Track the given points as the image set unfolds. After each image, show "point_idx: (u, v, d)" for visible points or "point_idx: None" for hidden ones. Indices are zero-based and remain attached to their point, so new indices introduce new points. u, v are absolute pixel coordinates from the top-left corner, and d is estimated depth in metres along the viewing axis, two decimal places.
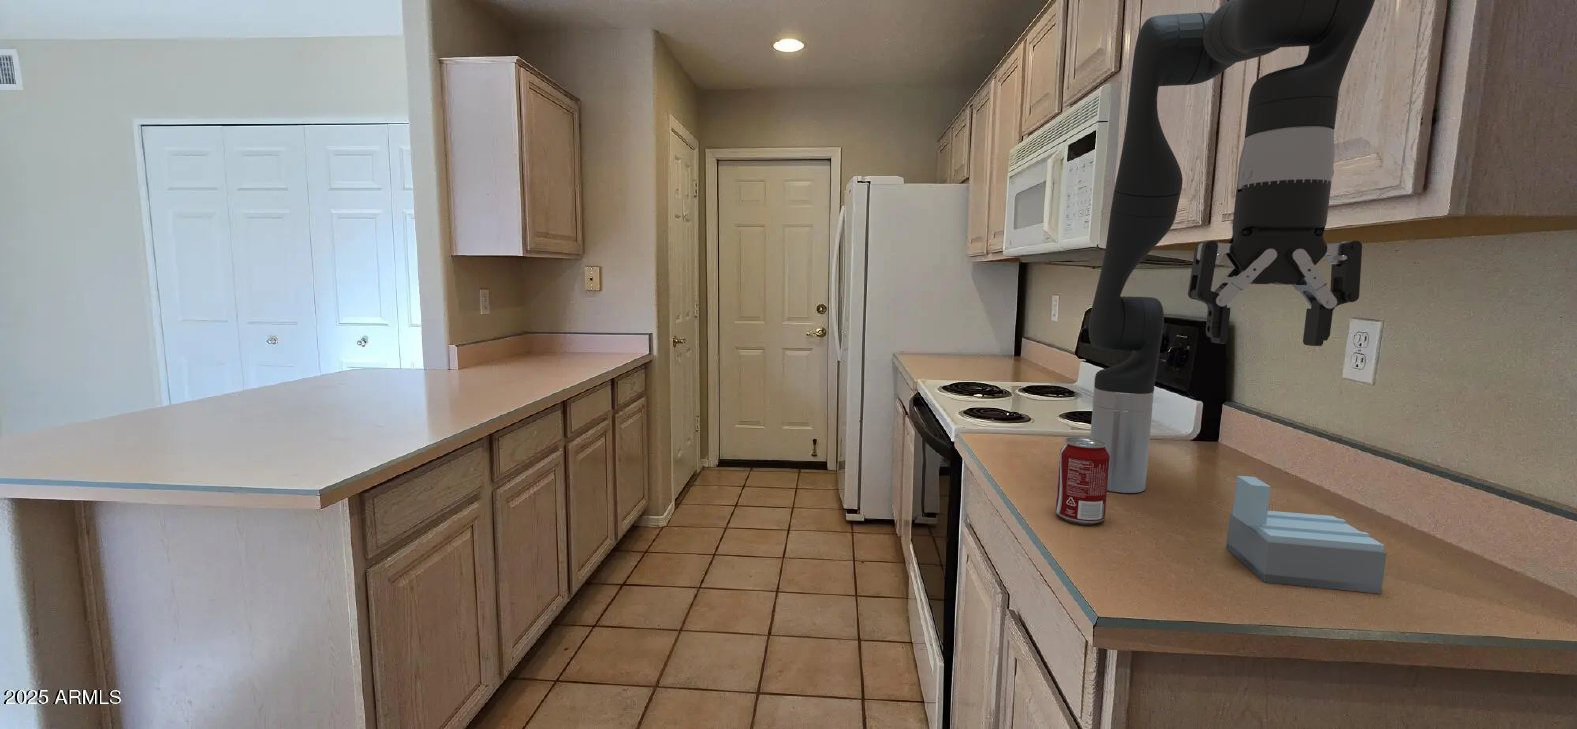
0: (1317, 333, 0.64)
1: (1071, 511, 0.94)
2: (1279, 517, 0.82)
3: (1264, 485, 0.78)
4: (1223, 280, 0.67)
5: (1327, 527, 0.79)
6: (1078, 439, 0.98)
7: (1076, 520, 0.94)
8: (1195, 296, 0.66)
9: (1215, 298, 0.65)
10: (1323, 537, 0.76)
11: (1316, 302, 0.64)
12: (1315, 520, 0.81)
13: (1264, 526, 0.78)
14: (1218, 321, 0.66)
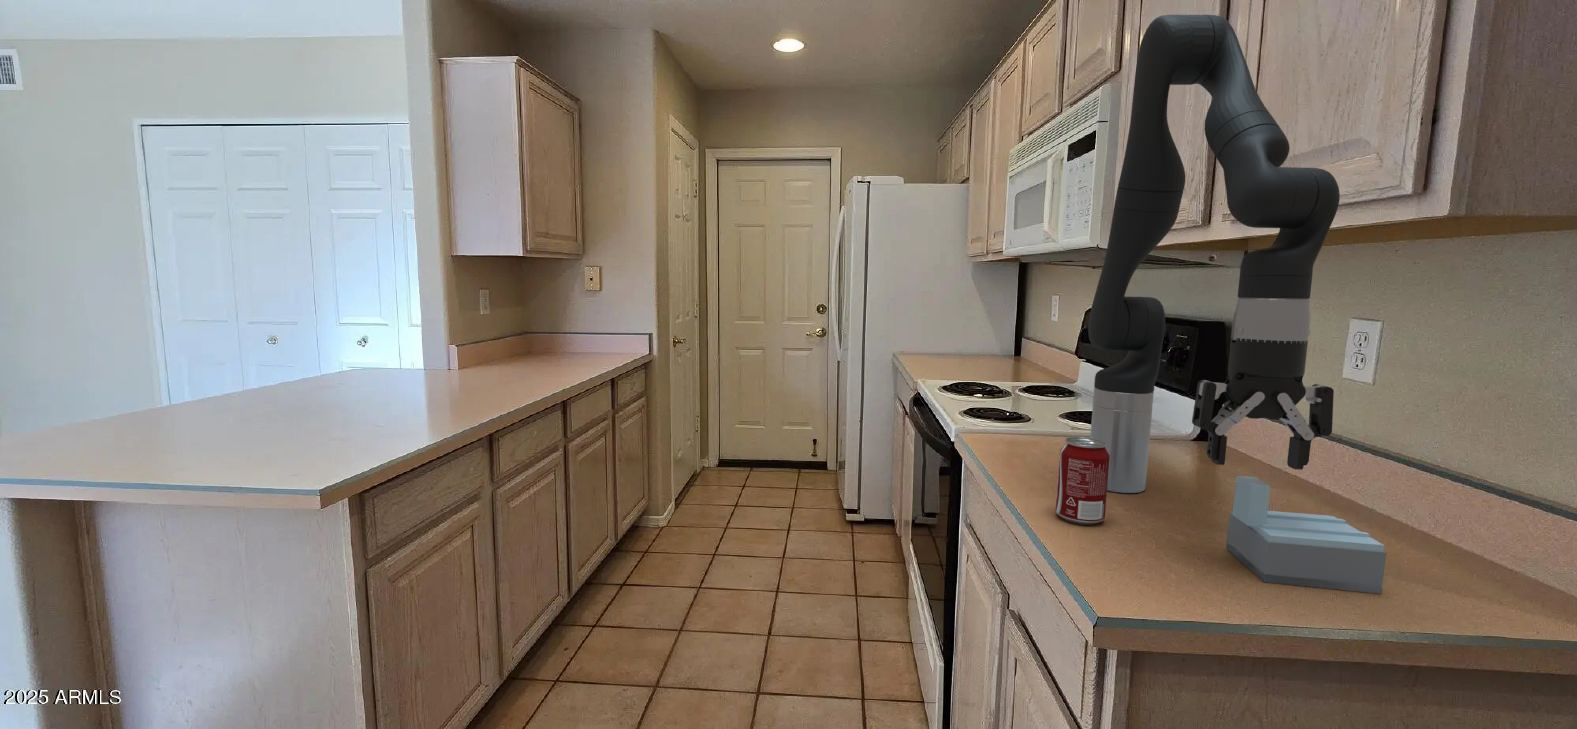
0: (1298, 459, 0.78)
1: (1071, 511, 0.94)
2: (1279, 517, 0.82)
3: (1264, 485, 0.78)
4: (1221, 411, 0.81)
5: (1327, 527, 0.79)
6: (1078, 439, 0.98)
7: (1076, 520, 0.94)
8: (1198, 425, 0.80)
9: (1214, 428, 0.79)
10: (1323, 537, 0.76)
11: (1297, 433, 0.78)
12: (1315, 520, 0.81)
13: (1264, 526, 0.78)
14: (1217, 446, 0.80)
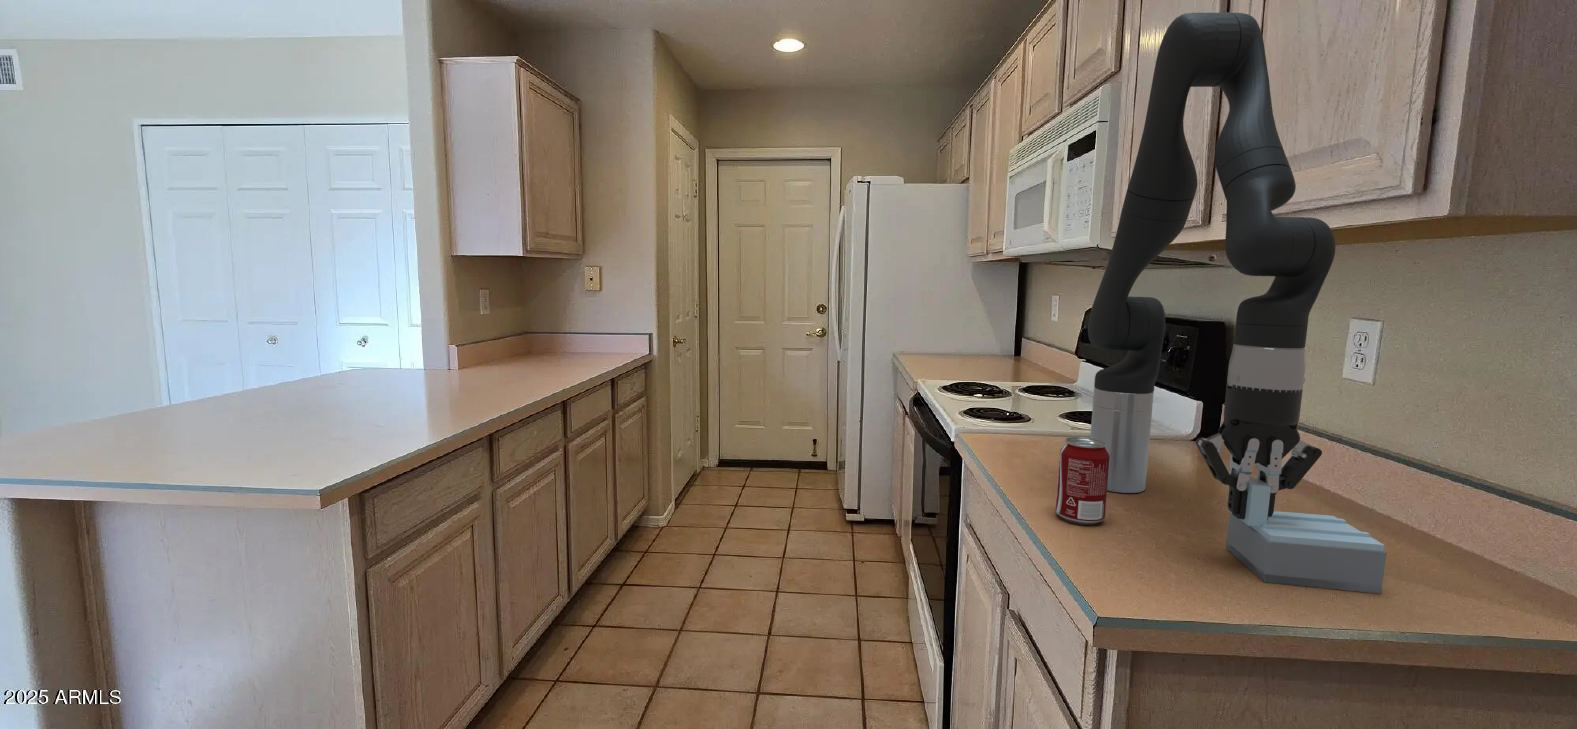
0: None
1: (1071, 511, 0.94)
2: (1279, 517, 0.82)
3: (1264, 485, 0.78)
4: (1231, 464, 0.81)
5: (1327, 527, 0.79)
6: (1078, 439, 0.98)
7: (1076, 520, 0.94)
8: (1219, 480, 0.80)
9: (1236, 483, 0.80)
10: (1323, 537, 0.76)
11: None
12: (1315, 520, 0.81)
13: (1264, 526, 0.78)
14: (1238, 501, 0.80)
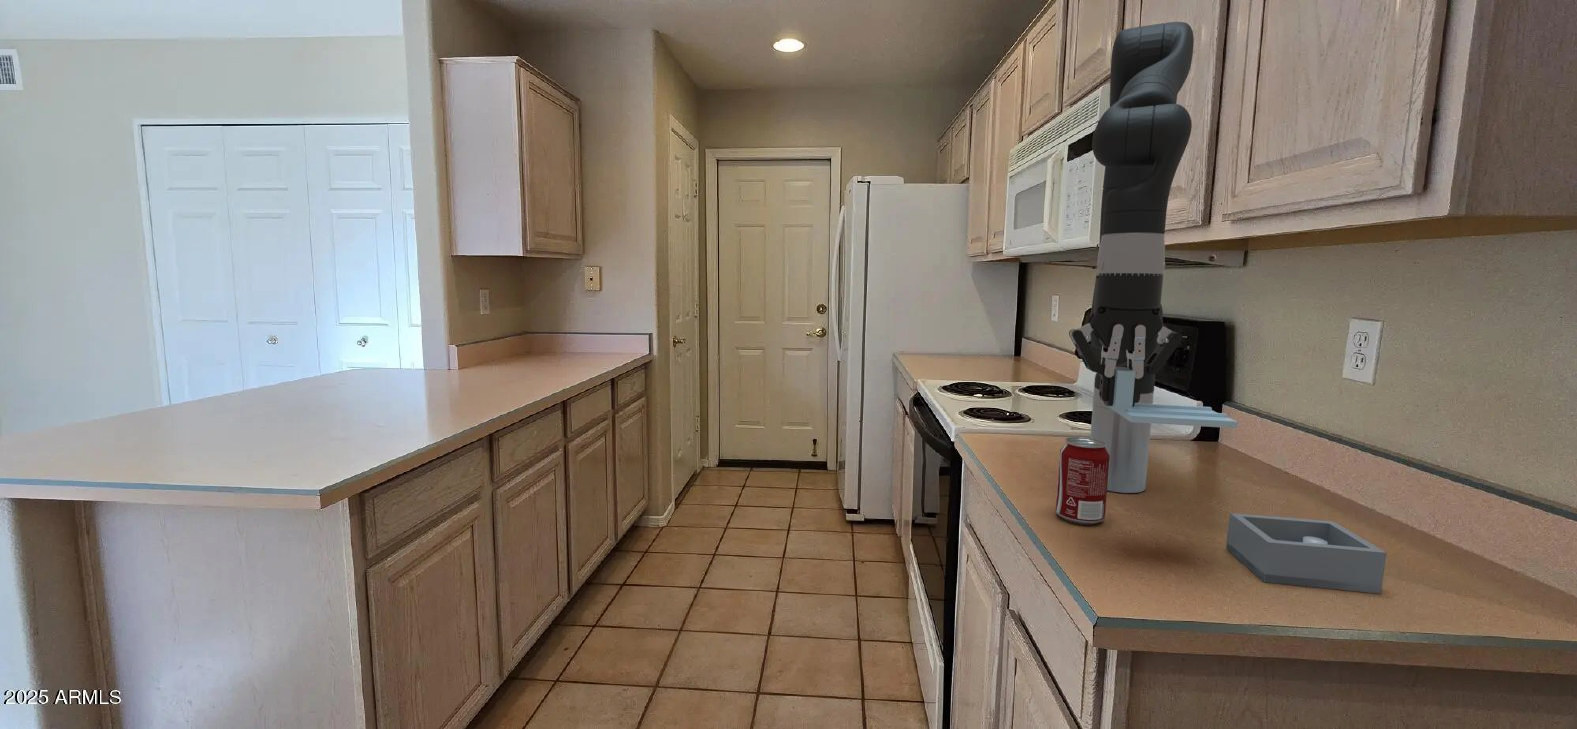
0: None
1: (1071, 511, 0.94)
2: (1149, 406, 0.84)
3: (1130, 370, 0.81)
4: (1102, 354, 0.84)
5: None
6: (1078, 439, 0.98)
7: (1076, 520, 0.94)
8: (1089, 368, 0.83)
9: (1104, 370, 0.82)
10: (1182, 417, 0.78)
11: None
12: (1183, 408, 0.83)
13: (1129, 410, 0.81)
14: (1107, 388, 0.83)
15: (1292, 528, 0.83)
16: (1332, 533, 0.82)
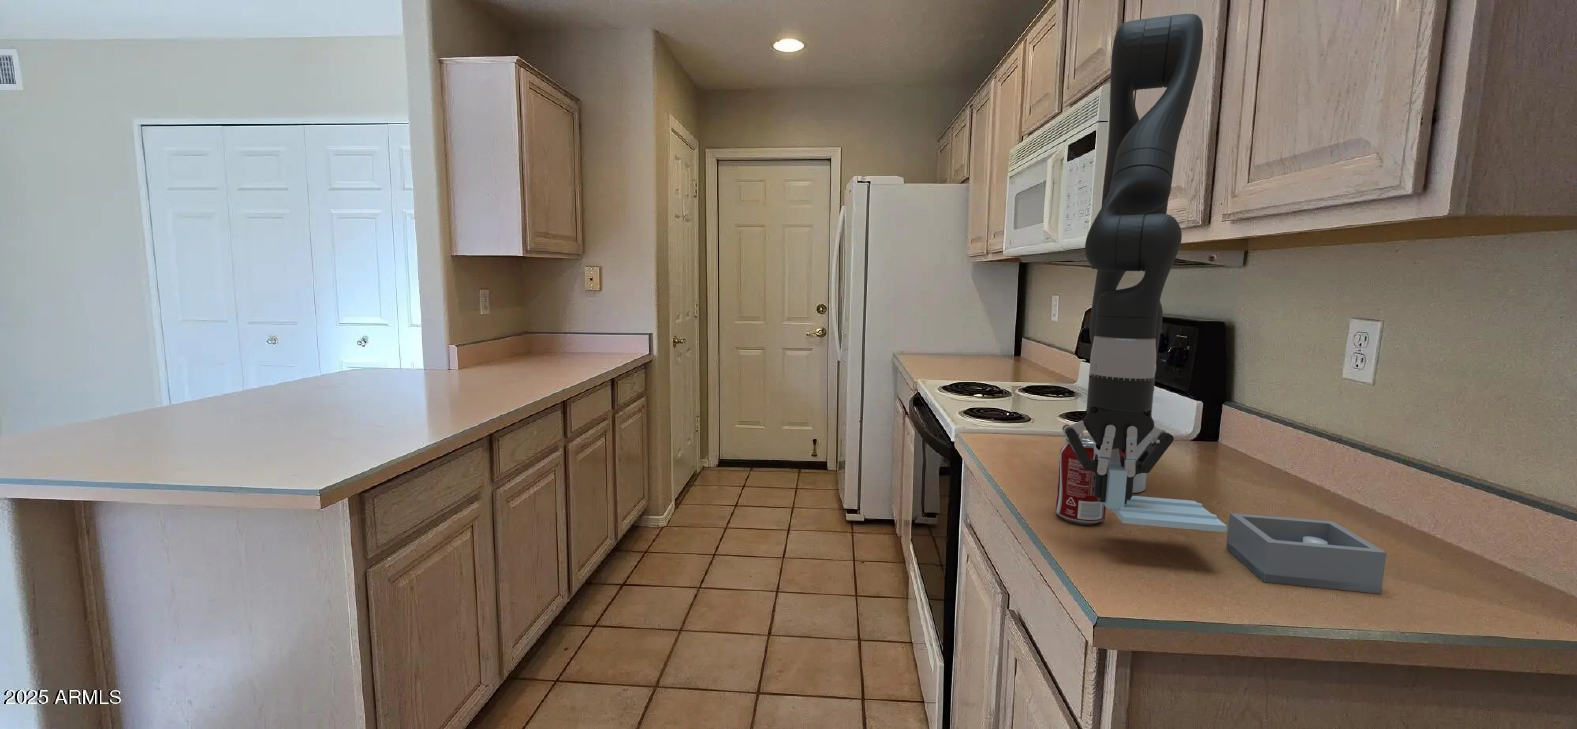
0: None
1: (1071, 511, 0.94)
2: (1141, 501, 0.86)
3: (1122, 470, 0.82)
4: (1095, 450, 0.85)
5: (1182, 510, 0.83)
6: None
7: (1076, 520, 0.94)
8: None
9: (1096, 468, 0.84)
10: (1173, 519, 0.80)
11: None
12: (1174, 504, 0.85)
13: (1121, 509, 0.82)
14: (1099, 485, 0.84)
15: (1292, 528, 0.83)
16: (1332, 533, 0.82)
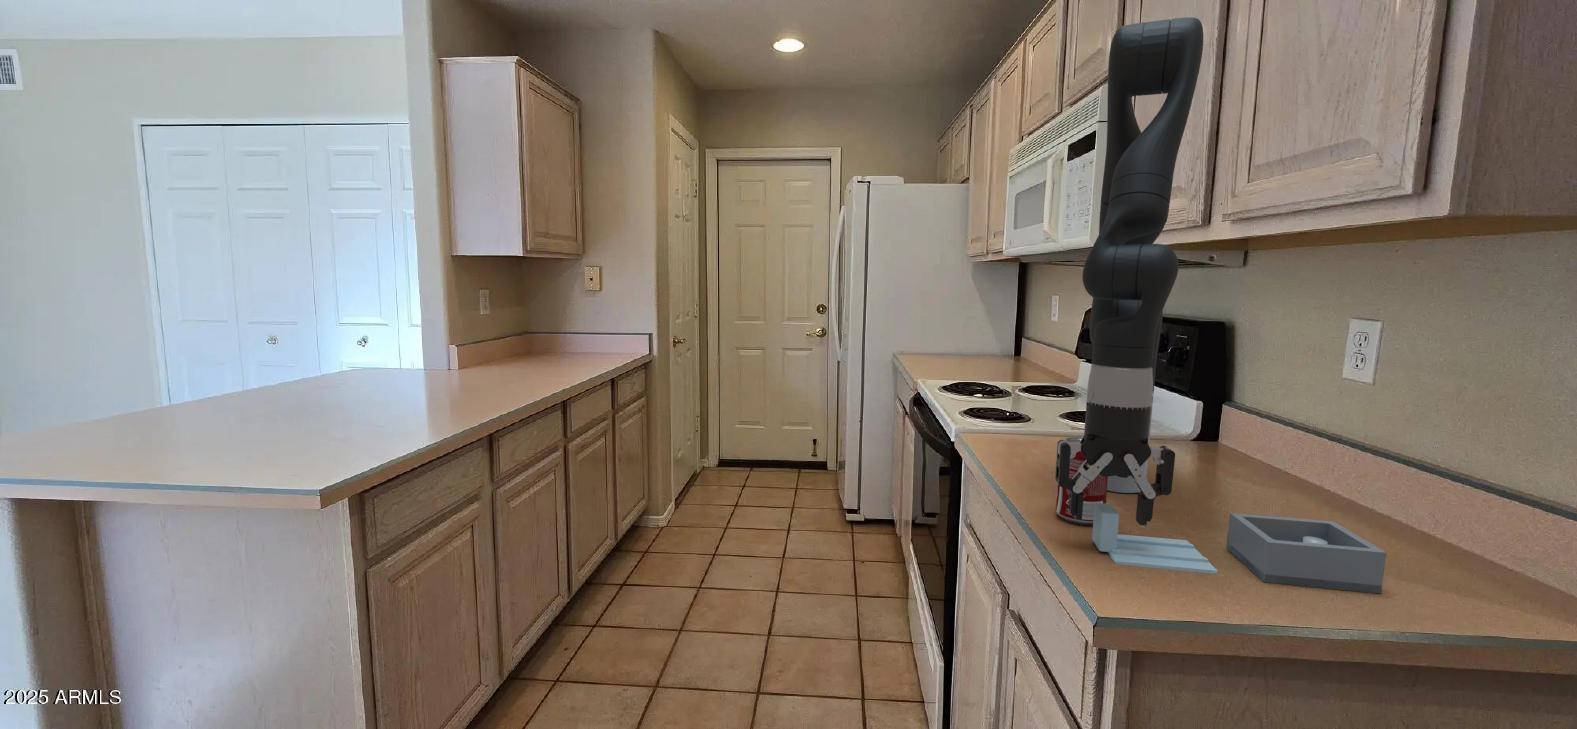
0: (1142, 516, 0.83)
1: None
2: (1134, 542, 0.87)
3: (1114, 513, 0.83)
4: (1080, 469, 0.86)
5: (1174, 552, 0.84)
6: (1078, 439, 0.98)
7: (1076, 520, 0.94)
8: None
9: (1072, 486, 0.85)
10: (1164, 562, 0.81)
11: (1142, 491, 0.84)
12: (1166, 545, 0.86)
13: (1114, 551, 0.83)
14: (1075, 503, 0.85)
15: (1292, 528, 0.83)
16: (1332, 533, 0.82)
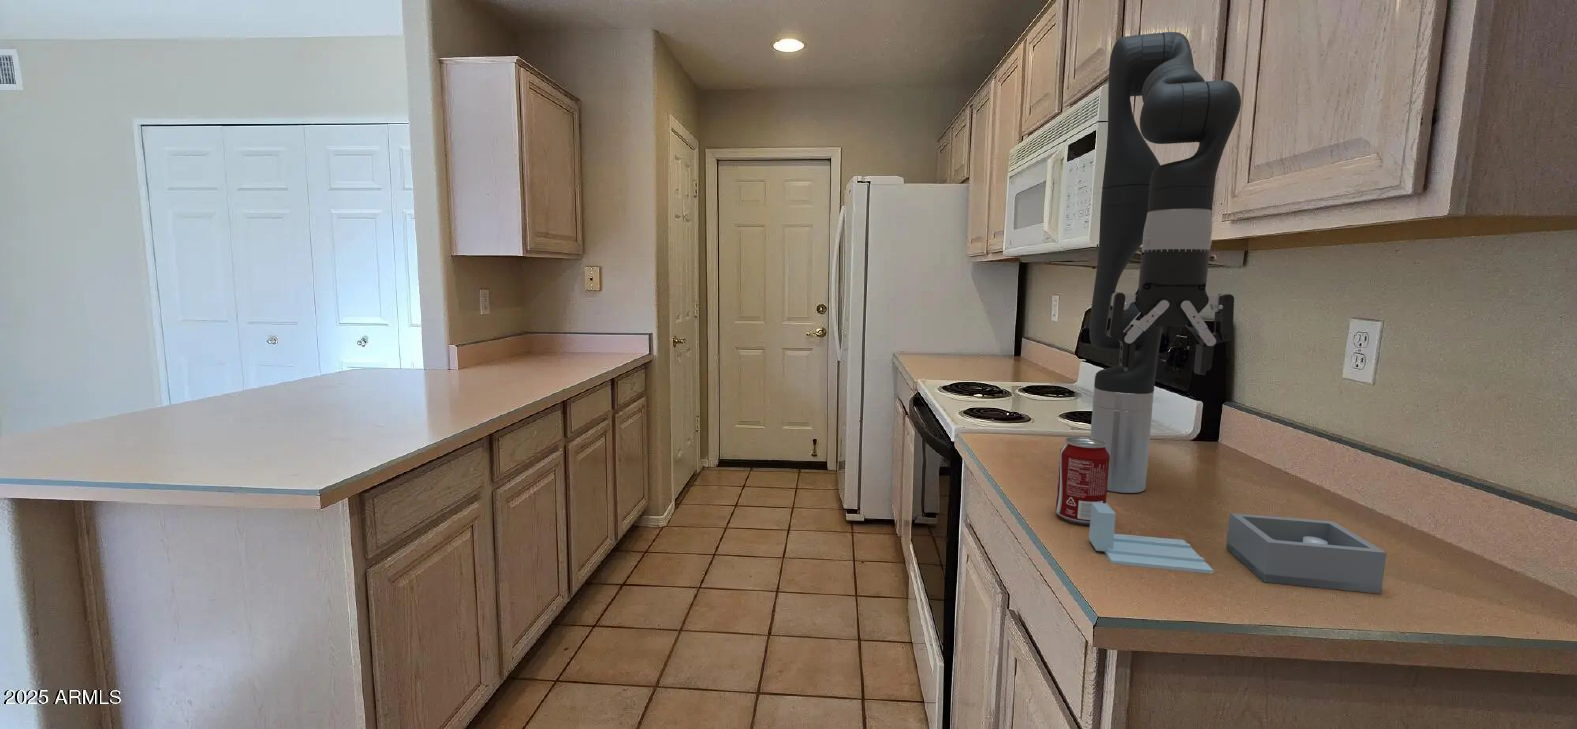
0: (1201, 365, 0.82)
1: (1071, 511, 0.94)
2: (1130, 541, 0.87)
3: (1110, 512, 0.83)
4: (1132, 322, 0.85)
5: (1171, 552, 0.84)
6: (1078, 439, 0.98)
7: (1076, 520, 0.94)
8: (1109, 335, 0.85)
9: (1124, 337, 0.84)
10: (1160, 562, 0.81)
11: (1202, 340, 0.82)
12: (1163, 544, 0.86)
13: (1110, 551, 0.83)
14: (1126, 354, 0.84)
15: (1292, 528, 0.83)
16: (1332, 533, 0.82)
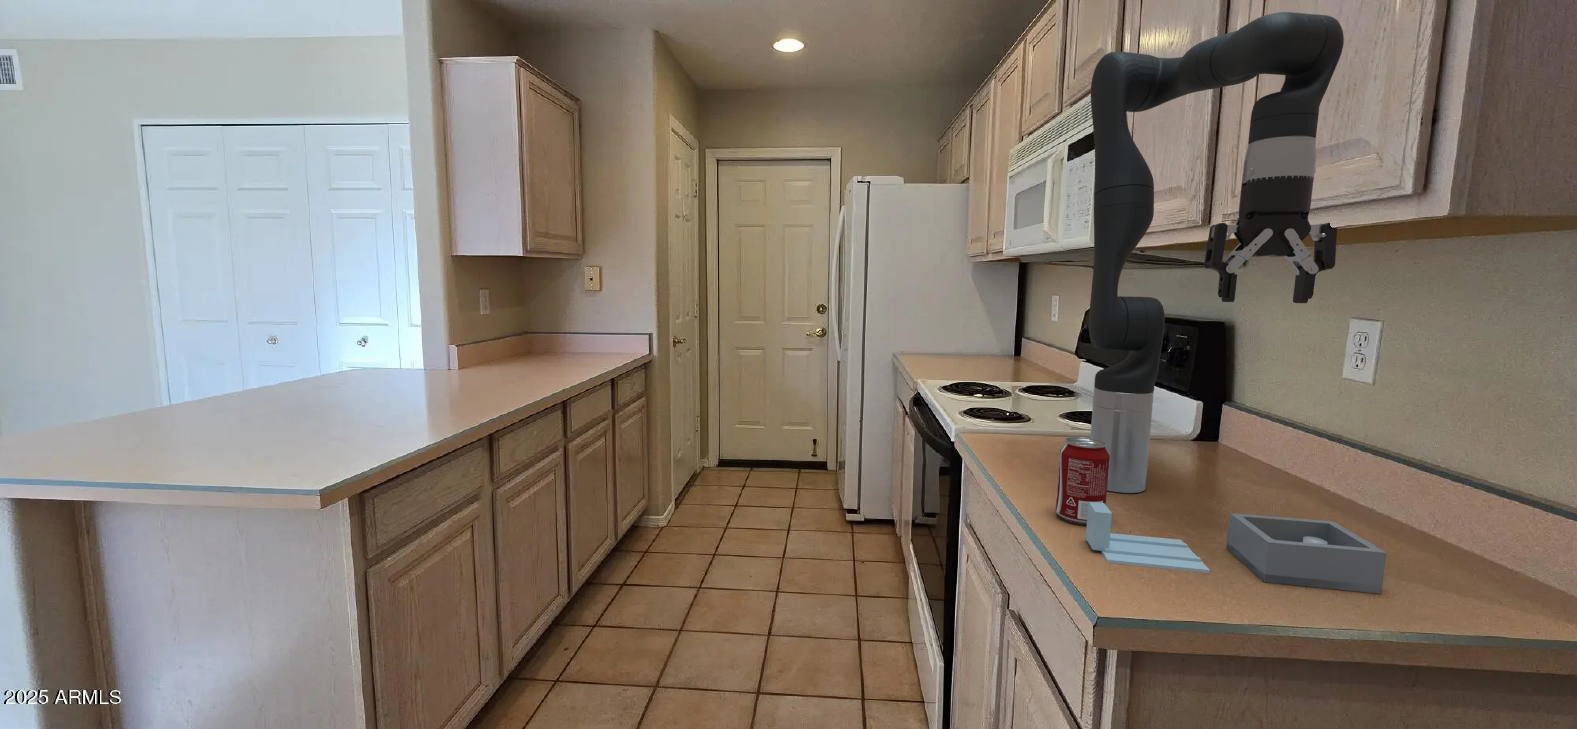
0: (1303, 293, 0.83)
1: (1071, 511, 0.94)
2: (1127, 541, 0.87)
3: (1107, 512, 0.84)
4: (1231, 253, 0.86)
5: (1167, 551, 0.84)
6: (1078, 439, 0.98)
7: (1076, 520, 0.94)
8: (1210, 266, 0.86)
9: (1225, 267, 0.85)
10: (1157, 561, 0.81)
11: (1303, 269, 0.84)
12: (1160, 544, 0.86)
13: (1106, 550, 0.83)
14: (1227, 284, 0.85)
15: (1292, 528, 0.83)
16: (1332, 533, 0.82)
